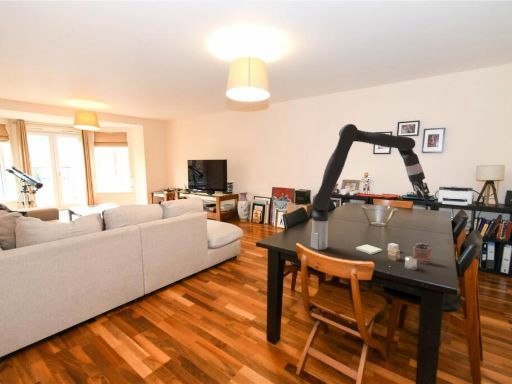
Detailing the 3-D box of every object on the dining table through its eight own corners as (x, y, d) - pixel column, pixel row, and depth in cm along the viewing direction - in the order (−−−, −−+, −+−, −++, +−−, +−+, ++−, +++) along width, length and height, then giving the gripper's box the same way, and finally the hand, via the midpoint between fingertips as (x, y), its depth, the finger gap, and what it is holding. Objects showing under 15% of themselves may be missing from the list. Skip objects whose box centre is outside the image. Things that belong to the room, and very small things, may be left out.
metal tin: (413, 270, 121) (413, 260, 120) (402, 267, 125) (403, 257, 125) (418, 268, 124) (419, 258, 123) (408, 264, 128) (408, 255, 127)
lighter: (412, 262, 131) (414, 243, 130) (411, 259, 134) (412, 241, 133) (431, 264, 128) (432, 245, 127) (429, 261, 132) (430, 243, 130)
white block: (394, 252, 145) (394, 246, 144) (387, 250, 148) (387, 244, 148) (398, 251, 147) (398, 244, 146) (391, 249, 150) (391, 242, 150)
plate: (371, 254, 142) (371, 252, 142) (356, 249, 150) (356, 247, 150) (381, 251, 147) (381, 249, 147) (366, 246, 155) (366, 244, 155)
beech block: (395, 260, 133) (395, 251, 133) (387, 258, 137) (388, 249, 136) (399, 259, 135) (399, 250, 135) (392, 256, 139) (392, 248, 138)
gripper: (403, 173, 148) (411, 199, 148) (413, 175, 134) (422, 204, 135) (416, 169, 146) (425, 195, 147) (428, 170, 132) (437, 199, 133)
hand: (423, 199), depth 141 cm, fingers open, 8 cm apart
